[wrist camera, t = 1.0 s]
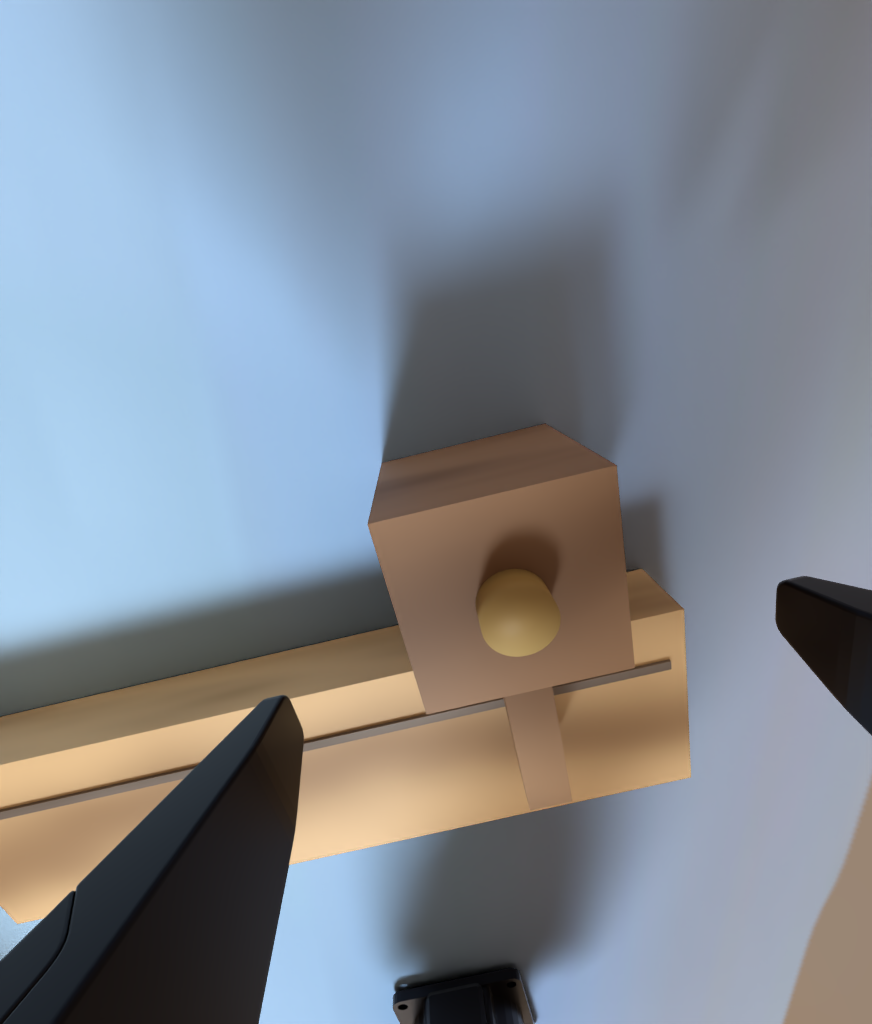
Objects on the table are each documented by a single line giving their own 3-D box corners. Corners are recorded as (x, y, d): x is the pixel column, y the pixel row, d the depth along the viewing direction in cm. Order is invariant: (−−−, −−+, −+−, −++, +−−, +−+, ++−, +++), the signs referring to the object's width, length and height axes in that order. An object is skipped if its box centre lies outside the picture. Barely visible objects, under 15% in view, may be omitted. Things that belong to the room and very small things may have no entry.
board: (653, 719, 18) (692, 779, 15) (67, 849, 18) (14, 927, 16) (641, 568, 15) (685, 611, 13) (-32, 724, 16) (-111, 792, 13)
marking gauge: (580, 673, 17) (662, 830, 11) (449, 703, 17) (468, 871, 12) (544, 423, 14) (636, 476, 8) (382, 462, 14) (364, 541, 8)
